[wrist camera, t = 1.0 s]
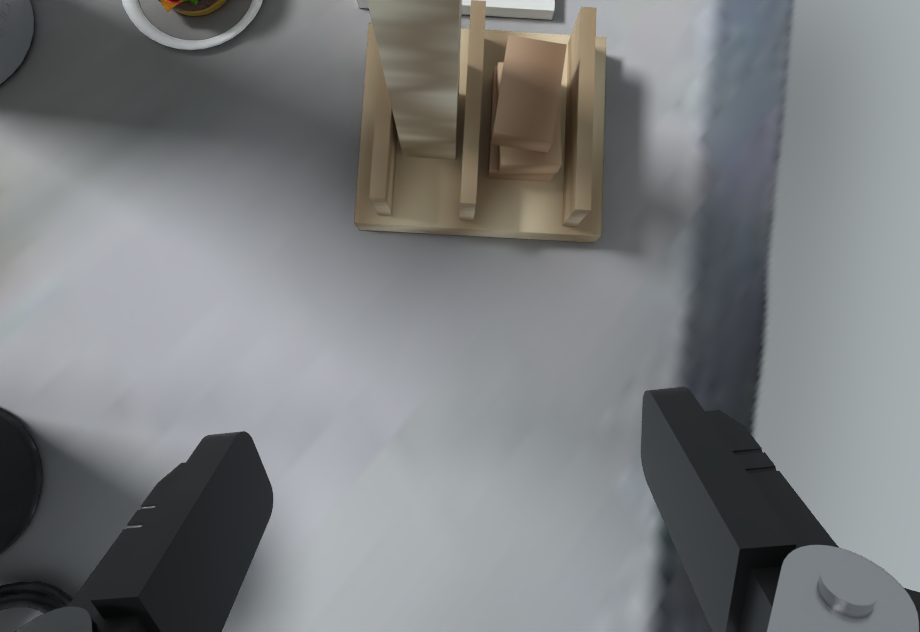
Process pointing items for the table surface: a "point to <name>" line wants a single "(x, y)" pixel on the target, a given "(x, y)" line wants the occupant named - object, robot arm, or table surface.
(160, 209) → the table surface
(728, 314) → the table surface
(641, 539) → the table surface
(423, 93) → the tall birch block
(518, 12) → the white mat
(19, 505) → the milk frother
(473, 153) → the pine rack
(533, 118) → the offcut stack
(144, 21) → the hamburger
